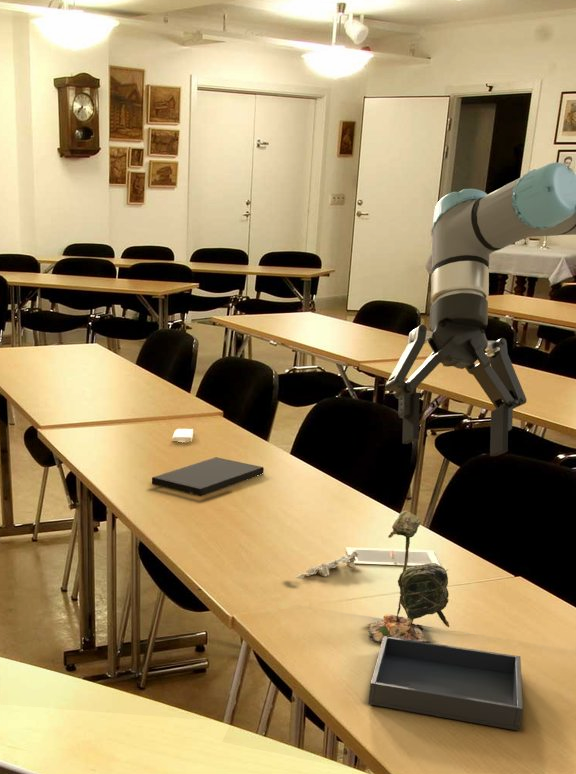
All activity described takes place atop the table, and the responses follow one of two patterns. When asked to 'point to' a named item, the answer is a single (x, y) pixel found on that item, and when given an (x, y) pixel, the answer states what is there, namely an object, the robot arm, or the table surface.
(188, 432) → the white flat block
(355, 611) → the table surface
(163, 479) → the dark grey flat slab
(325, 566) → the lizard figurine
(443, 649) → the tray
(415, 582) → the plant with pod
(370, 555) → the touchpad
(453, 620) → the table surface
